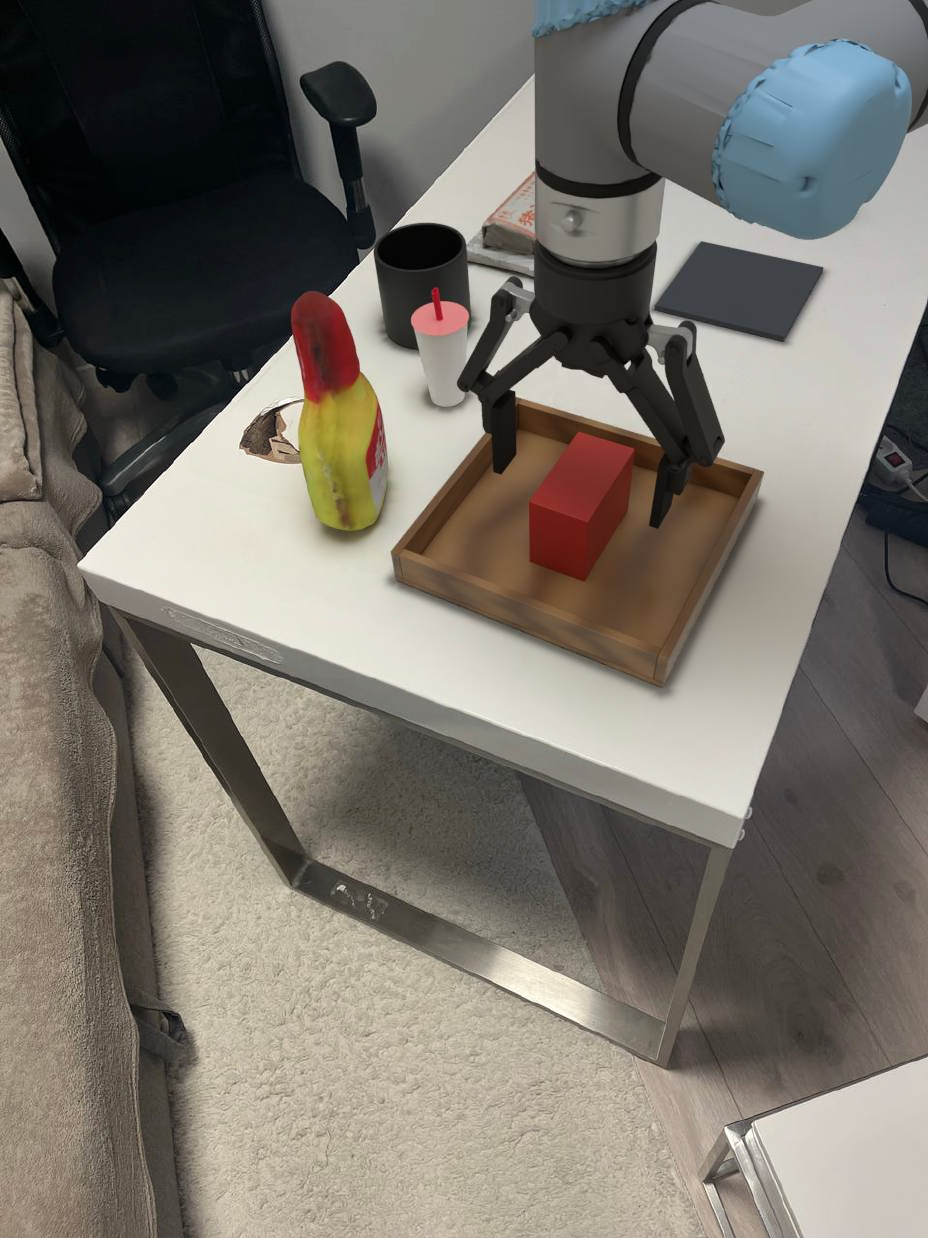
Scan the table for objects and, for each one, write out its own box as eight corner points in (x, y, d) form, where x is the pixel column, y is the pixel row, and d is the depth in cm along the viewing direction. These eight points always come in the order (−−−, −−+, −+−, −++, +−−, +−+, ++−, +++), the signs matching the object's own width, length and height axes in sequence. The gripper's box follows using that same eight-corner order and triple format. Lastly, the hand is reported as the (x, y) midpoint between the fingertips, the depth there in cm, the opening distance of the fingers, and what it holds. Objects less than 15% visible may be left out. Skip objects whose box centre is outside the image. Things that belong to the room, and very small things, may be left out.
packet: (628, 510, 76) (635, 448, 70) (584, 582, 71) (588, 521, 66) (575, 492, 77) (578, 431, 72) (529, 561, 73) (528, 501, 67)
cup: (426, 417, 86) (412, 309, 77) (417, 384, 89) (402, 276, 80) (479, 407, 86) (472, 298, 77) (468, 375, 90) (460, 266, 80)
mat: (822, 271, 97) (823, 266, 96) (783, 341, 90) (784, 336, 89) (700, 245, 101) (701, 240, 101) (654, 309, 94) (654, 304, 94)
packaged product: (529, 152, 108) (604, 166, 105) (530, 191, 112) (602, 206, 108) (458, 222, 99) (538, 240, 95) (461, 262, 103) (538, 280, 99)
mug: (501, 302, 97) (498, 223, 90) (438, 360, 91) (429, 281, 84) (432, 280, 101) (424, 202, 94) (367, 334, 95) (354, 256, 88)
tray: (756, 501, 76) (764, 471, 73) (662, 687, 65) (668, 660, 62) (515, 426, 84) (514, 395, 82) (395, 580, 73) (390, 551, 71)
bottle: (345, 450, 84) (301, 254, 68) (409, 457, 83) (379, 259, 67) (305, 542, 77) (246, 347, 61) (375, 550, 76) (333, 354, 60)
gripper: (390, 224, 56) (423, 470, 73) (779, 320, 47) (713, 574, 64) (449, 170, 60) (467, 416, 76) (819, 251, 51) (747, 507, 68)
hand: (579, 489), depth 70 cm, fingers open, 13 cm apart
